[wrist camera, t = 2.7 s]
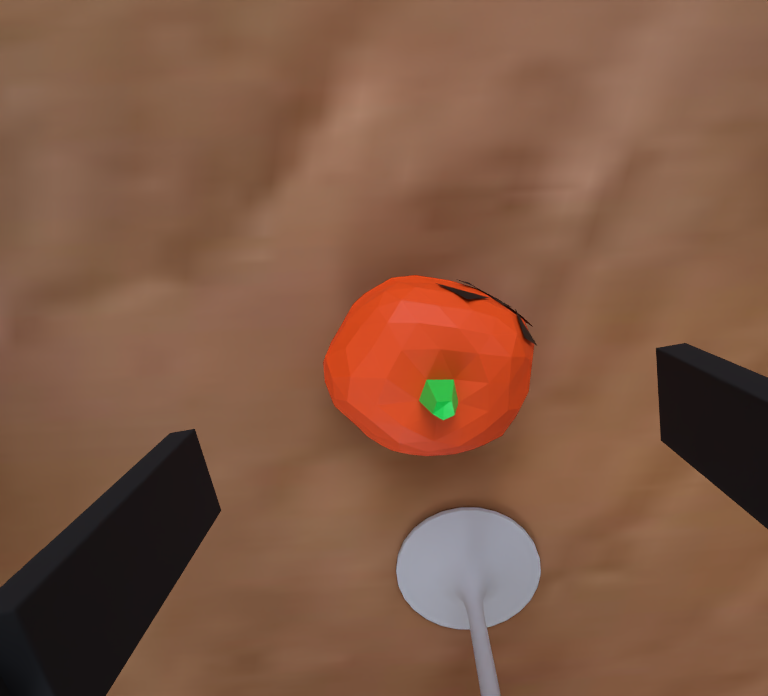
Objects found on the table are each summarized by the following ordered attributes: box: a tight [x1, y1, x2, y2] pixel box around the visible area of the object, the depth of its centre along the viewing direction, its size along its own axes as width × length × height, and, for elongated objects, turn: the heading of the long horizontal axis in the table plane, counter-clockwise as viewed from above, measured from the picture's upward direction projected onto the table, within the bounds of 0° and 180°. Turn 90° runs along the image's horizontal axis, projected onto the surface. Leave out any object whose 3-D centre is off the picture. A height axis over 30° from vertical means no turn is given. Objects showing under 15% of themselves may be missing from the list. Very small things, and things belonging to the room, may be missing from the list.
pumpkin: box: [323, 275, 536, 456], centre depth 18 cm, size 7×8×6 cm
